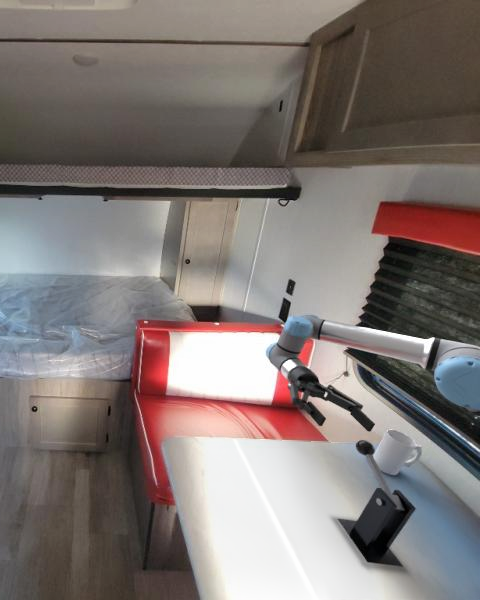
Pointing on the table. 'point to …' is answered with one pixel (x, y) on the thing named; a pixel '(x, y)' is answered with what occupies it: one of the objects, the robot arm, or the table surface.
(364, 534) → the bracket
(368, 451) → the lever
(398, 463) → the mug
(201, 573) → the table surface
